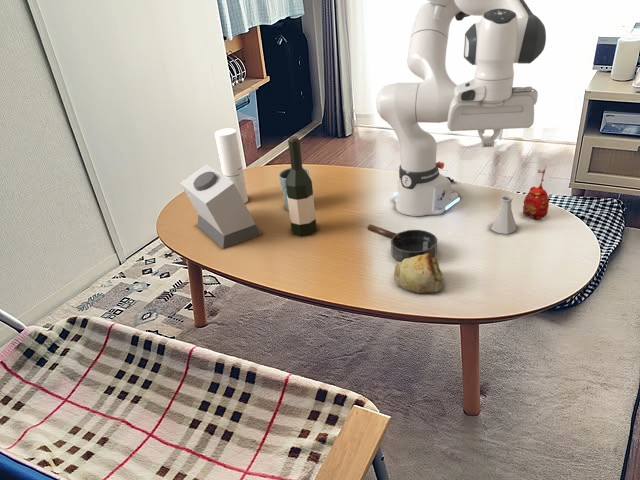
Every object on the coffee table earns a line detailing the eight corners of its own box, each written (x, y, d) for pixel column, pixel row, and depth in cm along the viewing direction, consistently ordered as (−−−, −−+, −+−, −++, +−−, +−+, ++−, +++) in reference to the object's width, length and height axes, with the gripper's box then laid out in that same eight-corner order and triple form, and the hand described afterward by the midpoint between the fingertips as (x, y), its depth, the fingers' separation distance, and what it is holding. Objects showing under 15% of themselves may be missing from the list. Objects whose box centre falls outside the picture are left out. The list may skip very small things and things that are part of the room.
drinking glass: (294, 215, 189) (290, 181, 182) (277, 206, 195) (272, 173, 188) (318, 205, 193) (314, 171, 186) (300, 196, 200) (296, 164, 193)
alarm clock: (260, 234, 180) (250, 174, 168) (216, 251, 174) (202, 189, 162) (233, 213, 194) (221, 156, 182) (191, 227, 188) (176, 170, 176)
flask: (520, 227, 169) (524, 196, 163) (508, 236, 165) (512, 205, 159) (498, 220, 173) (501, 190, 167) (486, 230, 169) (489, 199, 163)
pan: (410, 239, 169) (410, 225, 166) (445, 252, 161) (446, 238, 158) (381, 256, 162) (381, 243, 160) (417, 271, 154) (418, 257, 152)
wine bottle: (314, 236, 175) (304, 142, 157) (288, 236, 177) (275, 142, 159) (319, 224, 182) (310, 132, 164) (294, 224, 184) (282, 132, 166)
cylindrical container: (252, 198, 203) (240, 129, 188) (239, 206, 198) (226, 136, 183) (236, 195, 206) (223, 127, 191) (224, 203, 201) (210, 134, 186)
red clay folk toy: (517, 215, 175) (523, 169, 166) (530, 207, 178) (536, 162, 169) (539, 223, 170) (547, 176, 161) (552, 214, 173) (560, 168, 164)
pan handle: (365, 230, 170) (365, 225, 169) (370, 228, 171) (370, 222, 170) (396, 242, 163) (396, 236, 162) (401, 239, 164) (401, 233, 163)
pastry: (453, 287, 147) (455, 261, 142) (412, 301, 143) (412, 275, 138) (424, 263, 157) (425, 238, 152) (385, 276, 154) (384, 250, 149)
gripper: (536, 82, 133) (528, 140, 141) (448, 87, 136) (445, 143, 144) (541, 89, 128) (532, 149, 136) (449, 94, 131) (446, 152, 139)
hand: (487, 146), depth 140 cm, fingers closed
